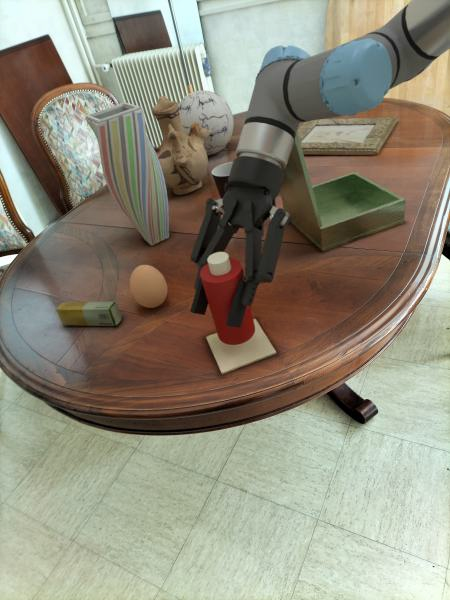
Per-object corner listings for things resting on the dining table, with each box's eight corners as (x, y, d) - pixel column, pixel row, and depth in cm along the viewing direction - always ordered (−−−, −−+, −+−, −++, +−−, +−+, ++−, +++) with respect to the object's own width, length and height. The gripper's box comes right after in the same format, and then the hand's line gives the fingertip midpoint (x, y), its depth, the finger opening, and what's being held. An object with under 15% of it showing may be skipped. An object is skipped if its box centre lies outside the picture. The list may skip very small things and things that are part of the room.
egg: (174, 309, 79) (160, 271, 73) (139, 320, 78) (122, 282, 73) (170, 290, 84) (157, 252, 79) (138, 299, 84) (122, 262, 78)
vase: (142, 259, 96) (90, 126, 78) (122, 240, 106) (72, 117, 88) (192, 235, 100) (154, 103, 82) (168, 218, 110) (130, 98, 92)
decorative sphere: (196, 144, 155) (182, 86, 143) (246, 140, 147) (236, 79, 135) (172, 167, 141) (154, 104, 129) (226, 163, 133) (212, 97, 121)
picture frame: (377, 156, 115) (378, 146, 113) (276, 155, 129) (275, 147, 128) (397, 122, 132) (397, 114, 130) (306, 125, 146) (305, 117, 145)
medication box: (123, 318, 80) (117, 300, 78) (117, 326, 78) (110, 309, 76) (69, 317, 83) (62, 301, 81) (62, 325, 81) (54, 308, 79)
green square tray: (355, 192, 100) (354, 171, 97) (404, 222, 86) (405, 199, 83) (284, 216, 98) (281, 196, 95) (322, 252, 84) (320, 228, 80)
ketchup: (261, 336, 64) (245, 260, 55) (224, 350, 63) (202, 275, 54) (247, 314, 68) (231, 241, 60) (213, 326, 68) (192, 254, 59)
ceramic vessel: (144, 201, 123) (114, 112, 108) (181, 173, 134) (158, 90, 119) (194, 205, 113) (169, 109, 98) (229, 175, 125) (211, 85, 110)
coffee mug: (232, 196, 113) (224, 160, 107) (259, 199, 108) (252, 162, 102) (206, 217, 106) (197, 180, 100) (233, 221, 101) (225, 183, 95)
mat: (276, 353, 64) (276, 351, 64) (222, 374, 63) (221, 372, 63) (255, 320, 72) (255, 318, 71) (206, 338, 70) (206, 336, 70)
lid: (256, 109, 83) (252, 111, 83) (297, 129, 68) (292, 132, 68) (283, 193, 95) (279, 195, 95) (322, 225, 80) (318, 227, 80)
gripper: (330, 179, 57) (282, 341, 58) (222, 169, 68) (183, 305, 69) (309, 157, 51) (255, 338, 52) (194, 150, 62) (151, 300, 63)
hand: (214, 319), depth 60 cm, fingers closed on ketchup, 6 cm apart
